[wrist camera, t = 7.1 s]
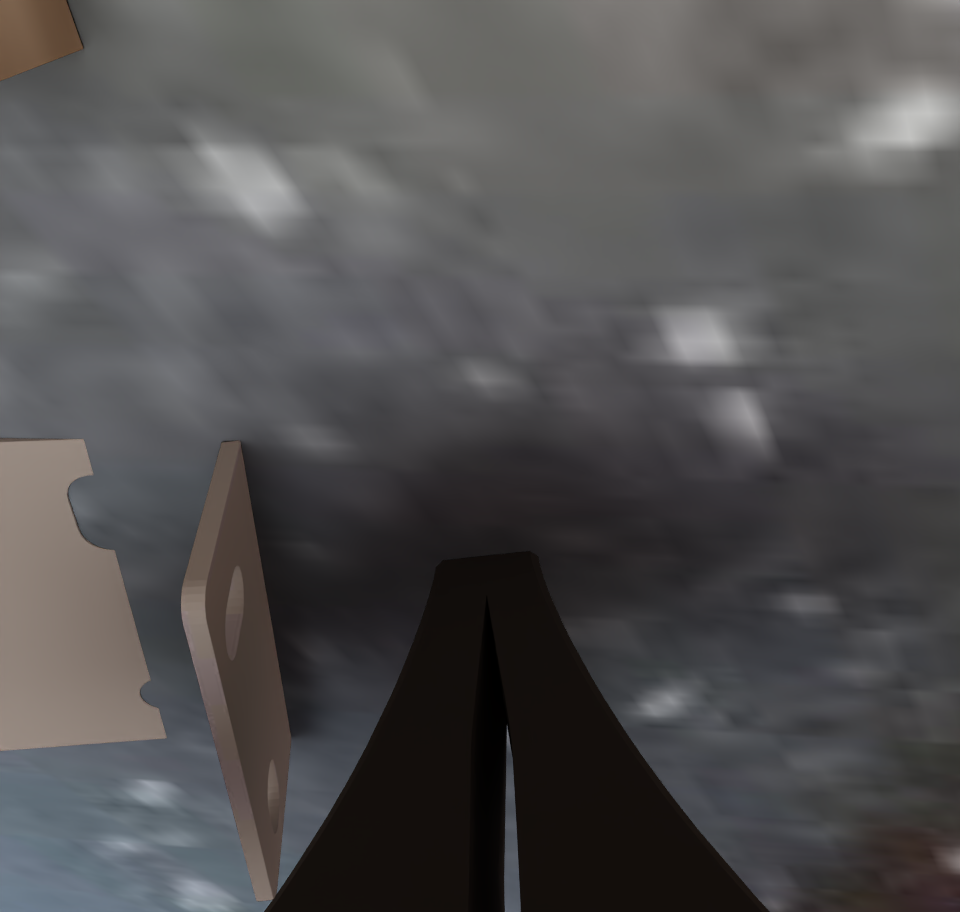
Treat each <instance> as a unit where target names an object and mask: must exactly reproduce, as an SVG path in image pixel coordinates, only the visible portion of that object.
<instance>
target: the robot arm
mask: <svg viewBox="0 0 960 912" xmlns="http://www.w3.org/2000/svg"><path fill="white" fill-rule="evenodd" d="M507 727H508V733H509V739H510V744H511V750H512V756H513V768H514V786H515V803H516V821H517V840H518V860H519V879H520V899H521V912H769V911H768V909H767V908H766V907H765V906H764V905H763V904H762V903H761V902H760V901H759V900H758V899H757V897H756V896H755V895H754V894H753V893H752V892H751V891H750V889H749V888H748V887H747V886H746V885H745V884H744V882H743V881H742V880H741V879H740V878H739V877H738V875H737V874H736V873H735V872H734V871H733V870H732V868H731V867H730V866H729V865H728V864H727V863H726V862H725V860H724V859H723V858H722V857H721V856H720V855H719V853H718V852H717V851H716V850H715V849H714V848H713V846H712V845H711V844H710V843H709V842H708V841H707V840H706V838H705V837H704V836H703V835H702V834H701V833H700V831H699V830H698V829H697V828H696V826H695V825H694V824H693V823H692V821H691V820H690V819H689V818H688V816H687V815H686V814H685V812H684V811H683V810H682V809H681V807H680V806H679V805H678V803H677V802H676V801H675V800H674V798H673V797H672V796H671V795H670V793H669V792H668V791H667V789H666V788H665V787H664V785H663V784H662V783H661V781H660V780H659V778H658V777H657V776H656V774H655V773H654V772H653V770H652V769H651V768H650V766H649V765H648V764H647V762H646V761H645V759H644V758H643V757H642V755H641V754H640V752H639V751H638V749H637V748H636V747H635V745H634V744H633V742H632V741H631V739H630V738H629V736H628V735H627V733H626V732H625V730H624V729H623V727H622V726H621V724H620V723H619V721H618V719H617V718H616V716H615V715H614V713H613V712H612V710H611V709H610V707H609V705H608V704H607V702H606V701H605V699H604V698H603V696H602V694H601V692H600V691H599V689H598V687H597V686H596V684H595V682H594V681H593V679H592V677H591V676H590V674H589V672H588V670H587V668H586V667H585V665H584V663H583V661H582V659H581V657H580V656H579V654H578V652H577V650H576V648H575V647H574V645H573V643H572V641H571V639H570V637H569V635H568V633H567V631H566V629H565V627H564V625H563V623H562V621H561V619H560V616H559V614H558V612H557V610H556V608H555V605H554V603H553V601H552V598H551V596H550V593H549V591H548V588H547V586H546V583H545V580H544V577H543V574H542V570H541V567H540V563H539V558H538V556H537V555H535V554H534V553H532V552H531V551H526V552H516V553H507V554H498V555H488V556H479V557H470V558H460V559H451V560H443V561H442V562H441V563H440V564H439V565H438V566H437V567H436V571H435V575H434V580H433V584H432V588H431V591H430V595H429V598H428V601H427V605H426V608H425V611H424V614H423V617H422V620H421V622H420V625H419V628H418V631H417V634H416V636H415V639H414V642H413V644H412V647H411V649H410V652H409V654H408V656H407V659H406V661H405V664H404V666H403V669H402V671H401V674H400V676H399V678H398V681H397V683H396V686H395V688H394V690H393V692H392V695H391V697H390V699H389V701H388V703H387V705H386V707H385V709H384V711H383V713H382V715H381V717H380V720H379V722H378V724H377V726H376V728H375V730H374V732H373V734H372V736H371V738H370V740H369V742H368V744H367V746H366V748H365V750H364V752H363V754H362V756H361V758H360V760H359V761H358V763H357V765H356V767H355V769H354V771H353V773H352V774H351V776H350V778H349V780H348V782H347V783H346V785H345V787H344V789H343V790H342V792H341V794H340V795H339V797H338V799H337V801H336V802H335V804H334V806H333V808H332V809H331V811H330V813H329V814H328V816H327V818H326V819H325V821H324V823H323V824H322V826H321V827H320V829H319V830H318V832H317V834H316V835H315V837H314V838H313V840H312V841H311V843H310V845H309V846H308V848H307V849H306V851H305V852H304V854H303V855H302V857H301V859H300V860H299V862H298V863H297V865H296V866H295V868H294V870H293V871H292V872H291V874H290V875H289V877H288V878H287V880H286V881H285V883H284V884H283V886H282V887H281V889H280V890H279V892H278V893H277V895H276V896H275V897H274V899H273V900H272V902H271V903H270V905H269V906H268V907H267V909H266V910H265V911H264V912H505V905H504V854H505V799H506V740H507Z"/></svg>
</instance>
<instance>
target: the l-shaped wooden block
mask: <svg viewBox="0 0 960 912" xmlns="http://www.w3.org/2000/svg"><path fill="white" fill-rule="evenodd" d="M81 49H83V47H82V44H81V41H80V38H79V35H78V33H77V30H76V27H75V24H74V21H73V19H72V16H71V13H70V10H69V7H68V5H67V2H66V0H0V81H2V80H4V79H7V78H9V77H12V76H15V75H17V74H20V73H22V72H25V71H27V70H30V69H33V68H35V67H38V66H40V65H43V64H45V63H48V62H51V61H53V60H56V59H58V58H61V57H63V56H66V55H69V54H71V53H74V52H76V51H79V50H81Z"/></svg>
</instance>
